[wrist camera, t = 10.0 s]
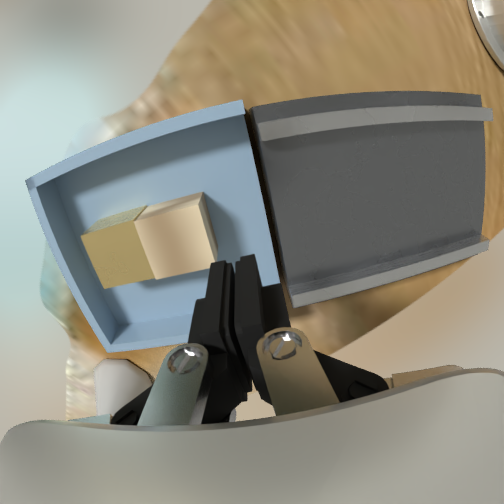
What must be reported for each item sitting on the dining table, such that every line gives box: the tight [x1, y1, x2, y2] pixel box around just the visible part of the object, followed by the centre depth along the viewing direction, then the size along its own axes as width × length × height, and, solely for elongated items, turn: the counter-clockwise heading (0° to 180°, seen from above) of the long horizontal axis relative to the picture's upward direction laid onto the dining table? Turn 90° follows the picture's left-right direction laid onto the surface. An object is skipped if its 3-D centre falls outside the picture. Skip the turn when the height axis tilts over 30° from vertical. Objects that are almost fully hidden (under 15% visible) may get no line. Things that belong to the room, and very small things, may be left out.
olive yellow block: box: [81, 205, 155, 289], centre depth 18 cm, size 4×4×3 cm
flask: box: [94, 359, 152, 416], centre depth 25 cm, size 7×7×10 cm
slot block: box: [249, 91, 493, 308], centre depth 19 cm, size 18×14×5 cm
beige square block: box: [134, 192, 218, 280], centre depth 18 cm, size 4×4×3 cm
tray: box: [25, 100, 280, 353], centre depth 20 cm, size 15×15×5 cm
